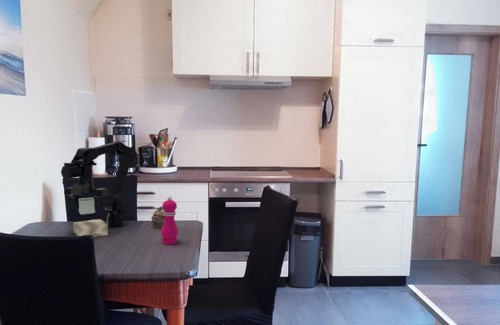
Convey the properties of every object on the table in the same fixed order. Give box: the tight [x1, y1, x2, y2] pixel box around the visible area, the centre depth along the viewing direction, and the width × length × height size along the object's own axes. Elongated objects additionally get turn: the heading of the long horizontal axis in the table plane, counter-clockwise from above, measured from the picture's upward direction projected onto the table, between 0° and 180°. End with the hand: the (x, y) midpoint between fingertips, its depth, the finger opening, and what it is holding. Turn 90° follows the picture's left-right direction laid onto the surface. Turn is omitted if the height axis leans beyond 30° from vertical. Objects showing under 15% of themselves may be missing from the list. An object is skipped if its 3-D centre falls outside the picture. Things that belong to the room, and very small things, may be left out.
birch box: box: [72, 218, 109, 238], centre depth 171 cm, size 12×12×5 cm
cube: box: [78, 197, 96, 215], centre depth 171 cm, size 6×6×6 cm
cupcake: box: [151, 206, 165, 230], centre depth 185 cm, size 10×10×10 cm
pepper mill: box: [160, 196, 179, 245], centre depth 161 cm, size 7×7×20 cm
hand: (87, 210), depth 171 cm, fingers closed on cube, 8 cm apart
